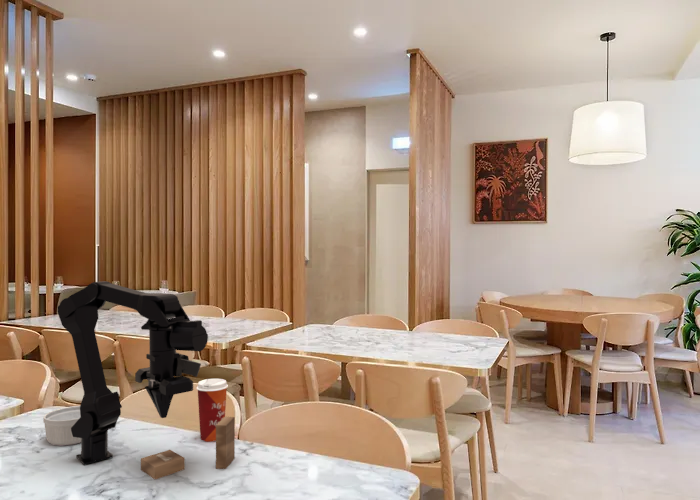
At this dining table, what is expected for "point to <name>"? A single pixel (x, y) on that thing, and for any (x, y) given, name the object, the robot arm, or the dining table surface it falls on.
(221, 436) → the wooden block
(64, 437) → the ramekin
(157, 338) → the robot arm
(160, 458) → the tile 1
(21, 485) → the dining table surface
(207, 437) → the coffee cup
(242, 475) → the dining table surface
